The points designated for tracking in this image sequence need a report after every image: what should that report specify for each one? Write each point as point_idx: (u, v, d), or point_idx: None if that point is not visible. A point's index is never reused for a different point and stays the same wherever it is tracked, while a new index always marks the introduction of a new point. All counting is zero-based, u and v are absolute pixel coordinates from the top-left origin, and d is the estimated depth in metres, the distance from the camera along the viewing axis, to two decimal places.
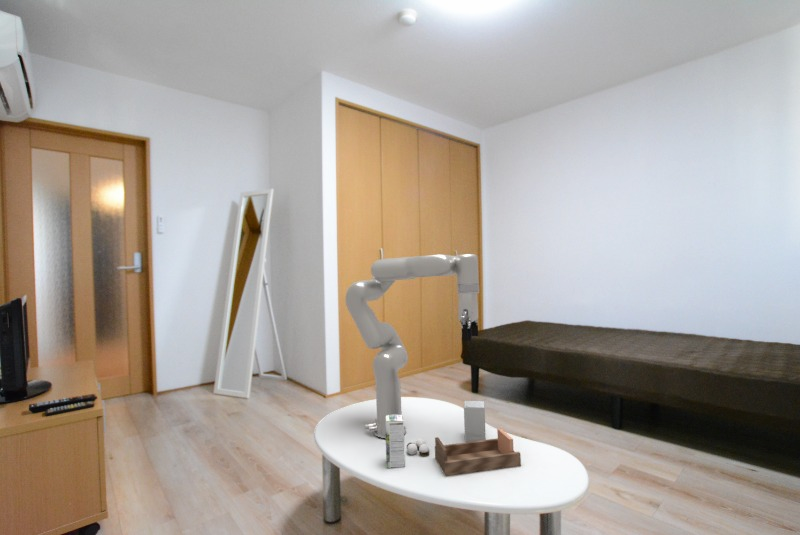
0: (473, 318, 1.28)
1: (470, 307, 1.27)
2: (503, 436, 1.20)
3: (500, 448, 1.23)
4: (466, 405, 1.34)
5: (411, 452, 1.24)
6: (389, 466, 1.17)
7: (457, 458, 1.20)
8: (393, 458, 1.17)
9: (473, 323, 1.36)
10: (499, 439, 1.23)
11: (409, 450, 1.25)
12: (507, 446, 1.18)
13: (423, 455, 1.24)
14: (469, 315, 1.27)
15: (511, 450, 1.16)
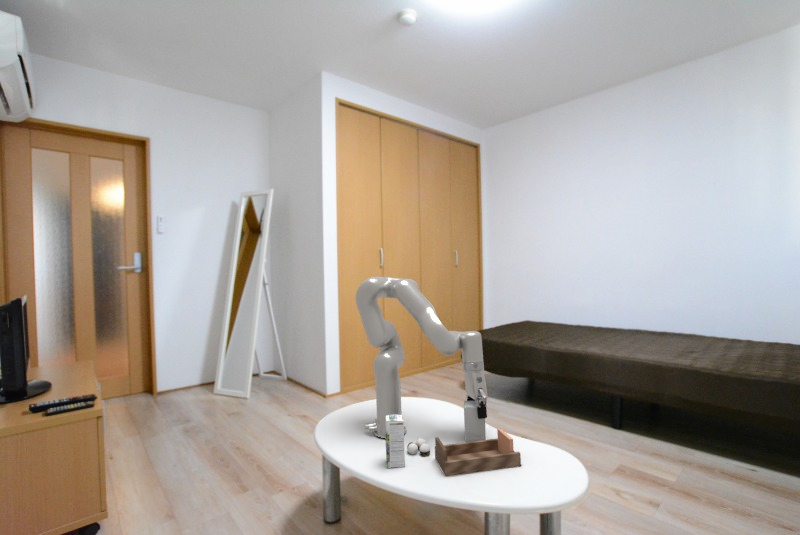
0: (467, 392, 1.38)
1: None
2: (503, 436, 1.20)
3: (500, 448, 1.23)
4: (466, 405, 1.34)
5: (412, 452, 1.25)
6: (389, 466, 1.17)
7: (457, 458, 1.20)
8: (393, 458, 1.17)
9: None
10: (499, 439, 1.23)
11: (410, 450, 1.25)
12: (507, 446, 1.18)
13: (424, 455, 1.24)
14: None
15: (511, 450, 1.16)
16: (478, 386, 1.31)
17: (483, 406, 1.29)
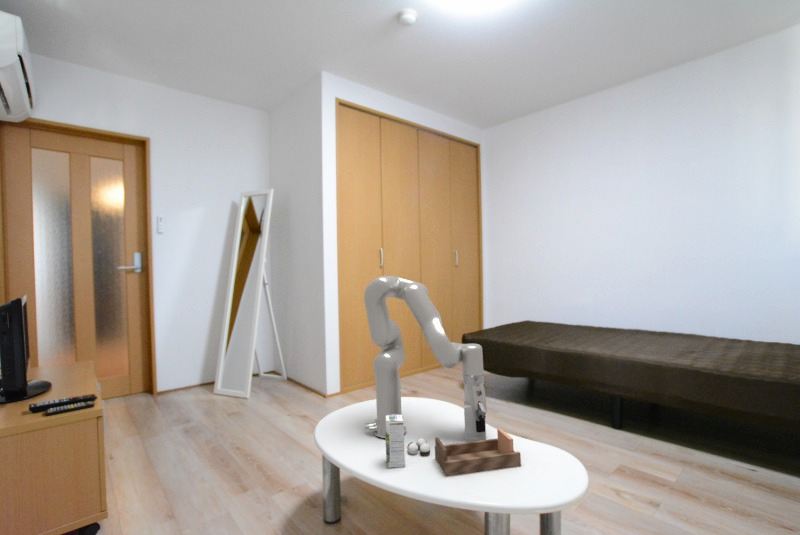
0: None
1: None
2: (503, 436, 1.20)
3: (500, 448, 1.23)
4: (467, 405, 1.34)
5: (412, 452, 1.25)
6: (389, 466, 1.17)
7: (457, 458, 1.20)
8: (393, 458, 1.17)
9: None
10: (499, 439, 1.23)
11: (410, 450, 1.25)
12: (507, 446, 1.18)
13: (424, 455, 1.24)
14: None
15: (511, 450, 1.16)
16: (478, 399, 1.31)
17: (482, 420, 1.29)
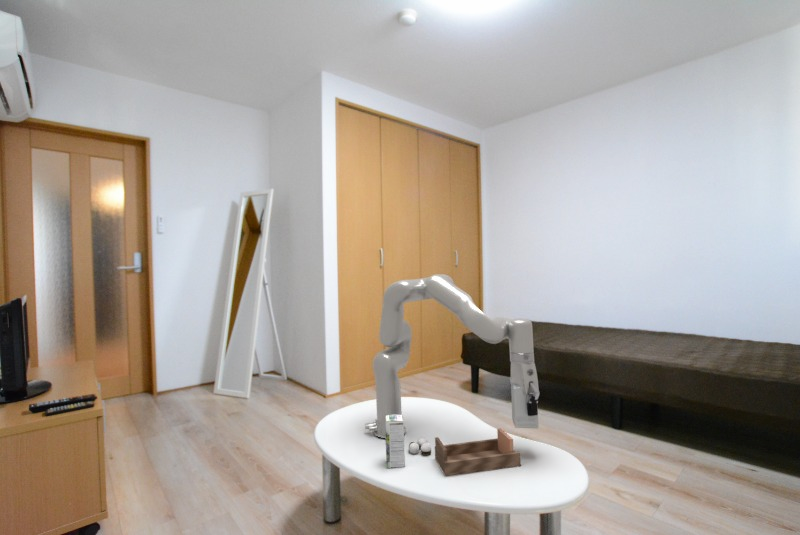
0: None
1: None
2: (503, 436, 1.20)
3: (500, 448, 1.23)
4: (516, 386, 1.21)
5: (413, 451, 1.25)
6: (389, 466, 1.17)
7: (457, 458, 1.20)
8: (393, 458, 1.17)
9: None
10: (499, 439, 1.23)
11: (411, 449, 1.25)
12: (507, 446, 1.18)
13: (425, 454, 1.24)
14: None
15: (511, 450, 1.16)
16: (529, 379, 1.17)
17: (534, 402, 1.16)
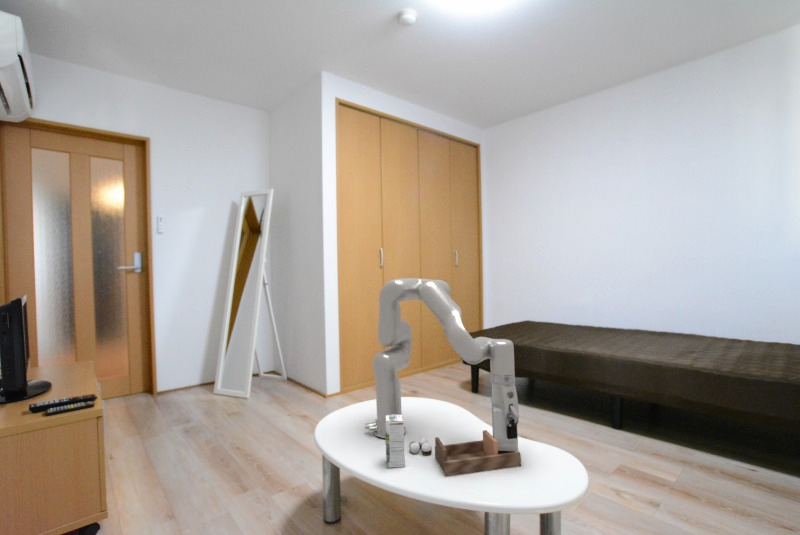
0: None
1: None
2: (488, 438, 1.19)
3: (485, 450, 1.22)
4: (496, 408, 1.20)
5: (413, 451, 1.25)
6: (389, 466, 1.17)
7: (457, 458, 1.20)
8: (393, 458, 1.17)
9: None
10: (484, 441, 1.22)
11: (411, 449, 1.26)
12: (492, 448, 1.17)
13: (425, 454, 1.24)
14: None
15: (495, 452, 1.15)
16: (509, 402, 1.16)
17: (514, 425, 1.15)
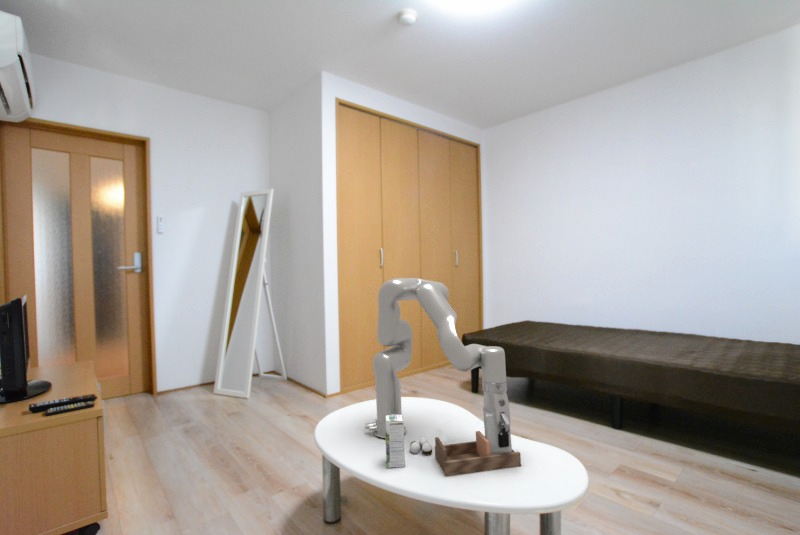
0: None
1: None
2: (481, 439, 1.19)
3: (478, 451, 1.21)
4: (488, 413, 1.19)
5: (414, 451, 1.25)
6: (389, 466, 1.17)
7: (457, 458, 1.20)
8: (393, 458, 1.17)
9: None
10: (477, 442, 1.22)
11: (412, 449, 1.26)
12: (484, 449, 1.16)
13: (426, 454, 1.24)
14: None
15: (488, 453, 1.15)
16: (501, 410, 1.15)
17: (505, 433, 1.14)
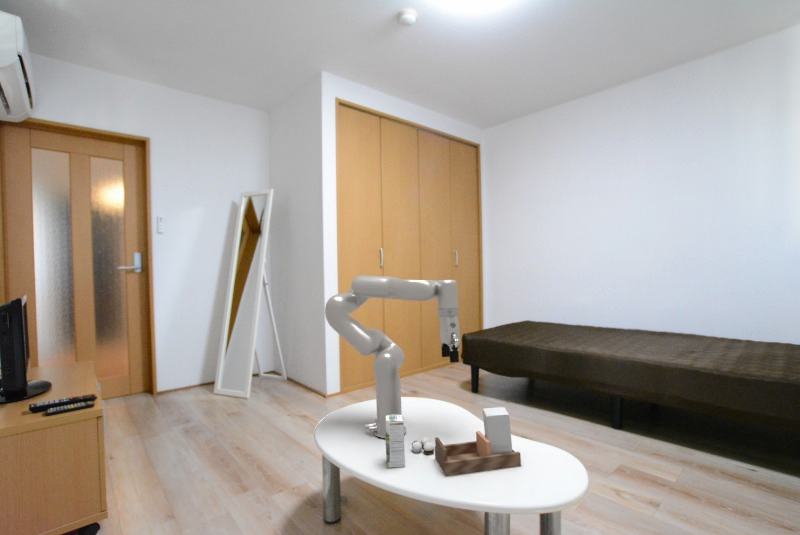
0: (441, 339, 1.41)
1: None
2: (481, 439, 1.19)
3: (479, 451, 1.21)
4: (488, 413, 1.19)
5: (415, 450, 1.26)
6: (389, 466, 1.17)
7: (457, 458, 1.20)
8: (393, 458, 1.17)
9: None
10: (477, 442, 1.22)
11: (414, 448, 1.26)
12: (485, 449, 1.16)
13: (427, 453, 1.25)
14: None
15: (488, 453, 1.15)
16: (452, 331, 1.34)
17: (455, 350, 1.33)
